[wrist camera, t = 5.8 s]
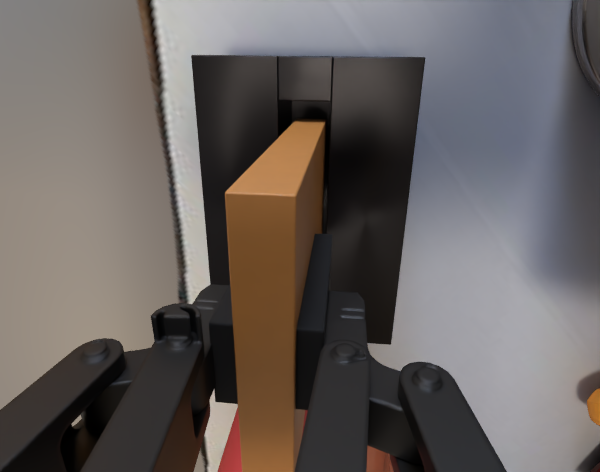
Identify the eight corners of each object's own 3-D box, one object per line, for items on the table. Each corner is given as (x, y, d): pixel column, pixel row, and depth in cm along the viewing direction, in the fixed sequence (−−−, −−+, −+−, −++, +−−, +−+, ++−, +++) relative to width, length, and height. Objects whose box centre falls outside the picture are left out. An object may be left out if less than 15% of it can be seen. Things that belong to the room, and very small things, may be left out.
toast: (326, 119, 22) (296, 194, 9) (320, 283, 25) (293, 504, 13) (296, 118, 22) (224, 191, 9) (295, 282, 26) (243, 498, 13)
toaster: (404, 60, 25) (425, 57, 18) (379, 301, 31) (389, 360, 25) (229, 58, 26) (190, 55, 19) (241, 292, 32) (215, 347, 26)
